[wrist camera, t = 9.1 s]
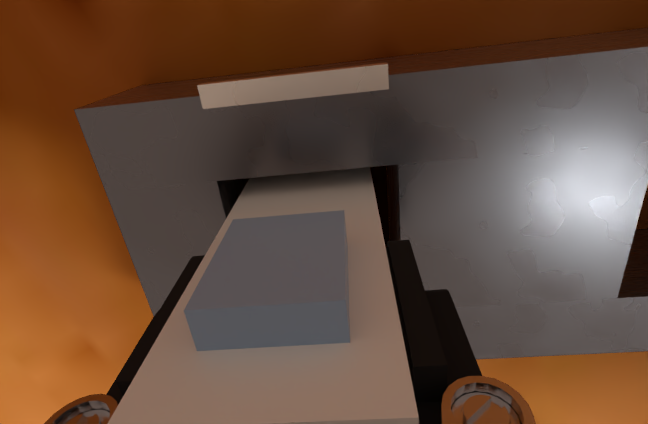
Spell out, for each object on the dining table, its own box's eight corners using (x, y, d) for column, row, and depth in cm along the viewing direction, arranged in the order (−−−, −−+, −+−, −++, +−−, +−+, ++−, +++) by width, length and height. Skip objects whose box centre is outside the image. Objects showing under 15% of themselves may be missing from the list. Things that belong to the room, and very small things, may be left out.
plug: (366, 135, 13) (428, 417, 4) (374, 256, 16) (428, 635, 6) (250, 147, 14) (48, 432, 4) (273, 264, 16) (170, 633, 6)
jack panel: (890, -11, 12) (1140, -21, 8) (763, 269, 17) (887, 345, 13) (138, 76, 14) (63, 100, 10) (207, 304, 19) (173, 379, 15)
